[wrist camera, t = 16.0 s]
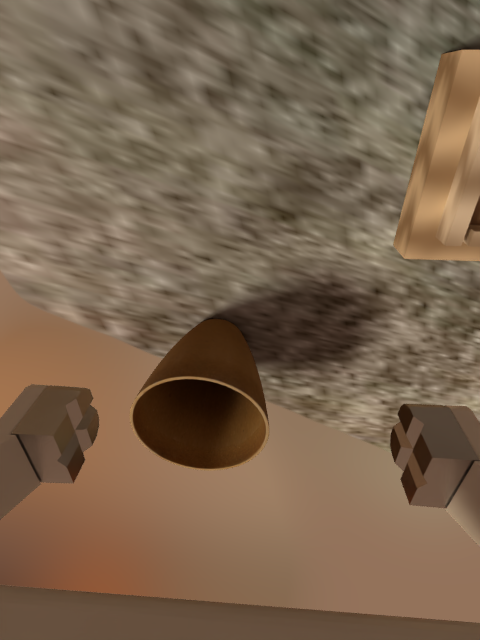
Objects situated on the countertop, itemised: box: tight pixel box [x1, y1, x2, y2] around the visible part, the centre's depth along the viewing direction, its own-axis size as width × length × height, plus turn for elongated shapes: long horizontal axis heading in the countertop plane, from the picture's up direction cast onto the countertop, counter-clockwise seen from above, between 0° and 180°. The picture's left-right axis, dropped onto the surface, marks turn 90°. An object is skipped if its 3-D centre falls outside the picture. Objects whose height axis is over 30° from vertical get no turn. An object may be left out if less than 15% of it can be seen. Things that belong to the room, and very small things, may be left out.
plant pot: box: [130, 319, 269, 471], centre depth 44 cm, size 15×15×16 cm
